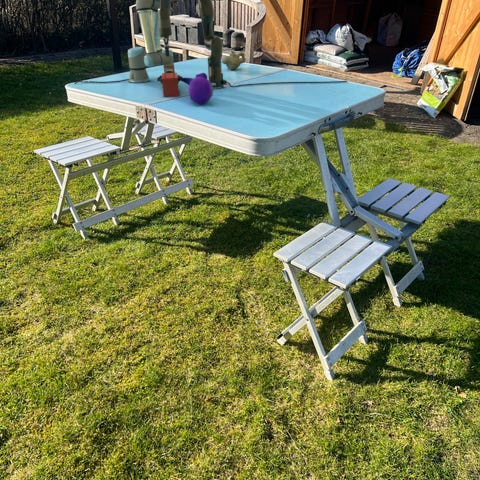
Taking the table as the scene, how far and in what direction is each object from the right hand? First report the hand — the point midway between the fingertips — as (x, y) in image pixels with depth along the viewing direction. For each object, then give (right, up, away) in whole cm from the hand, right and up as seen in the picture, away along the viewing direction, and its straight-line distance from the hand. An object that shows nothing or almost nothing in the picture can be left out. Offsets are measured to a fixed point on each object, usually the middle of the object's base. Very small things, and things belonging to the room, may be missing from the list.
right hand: (167, 55), depth 282 cm
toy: (+19, -30, -2) cm, 36 cm away
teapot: (+40, +26, +92) cm, 104 cm away
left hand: (-1, -10, +19) cm, 21 cm away
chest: (0, -18, +18) cm, 26 cm away
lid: (-1, -9, +12) cm, 15 cm away
